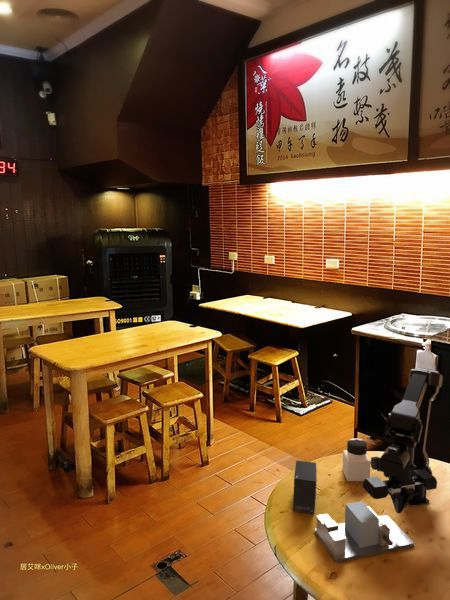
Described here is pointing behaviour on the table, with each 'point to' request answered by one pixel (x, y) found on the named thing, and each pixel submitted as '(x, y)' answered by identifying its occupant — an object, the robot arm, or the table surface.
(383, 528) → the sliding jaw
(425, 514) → the table surface
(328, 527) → the vise
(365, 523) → the block
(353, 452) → the medicine bottle
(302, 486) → the small box
